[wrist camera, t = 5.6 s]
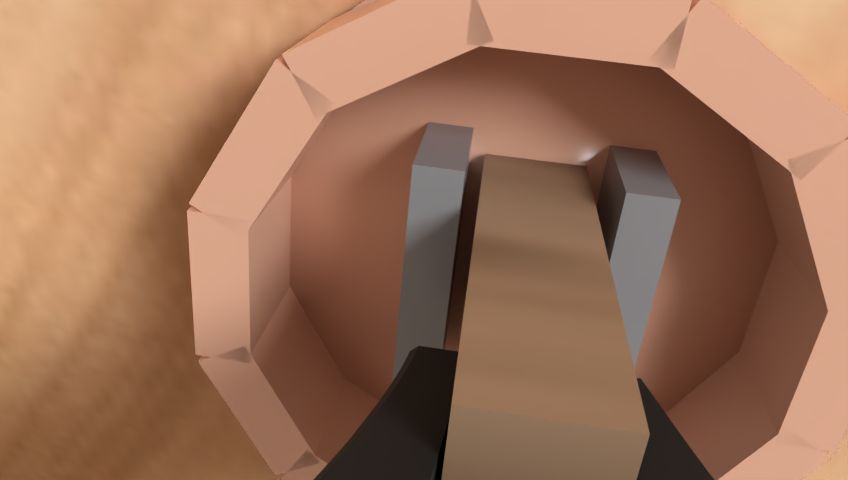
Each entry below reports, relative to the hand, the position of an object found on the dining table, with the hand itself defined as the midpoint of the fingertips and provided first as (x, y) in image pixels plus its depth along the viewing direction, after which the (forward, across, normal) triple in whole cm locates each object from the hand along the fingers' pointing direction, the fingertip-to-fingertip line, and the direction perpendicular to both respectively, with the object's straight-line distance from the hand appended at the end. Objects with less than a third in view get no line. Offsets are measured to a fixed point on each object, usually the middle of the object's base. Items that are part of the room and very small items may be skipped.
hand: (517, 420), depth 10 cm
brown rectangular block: (+4, 0, 0) cm, 4 cm away
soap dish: (+5, 0, 0) cm, 5 cm away
